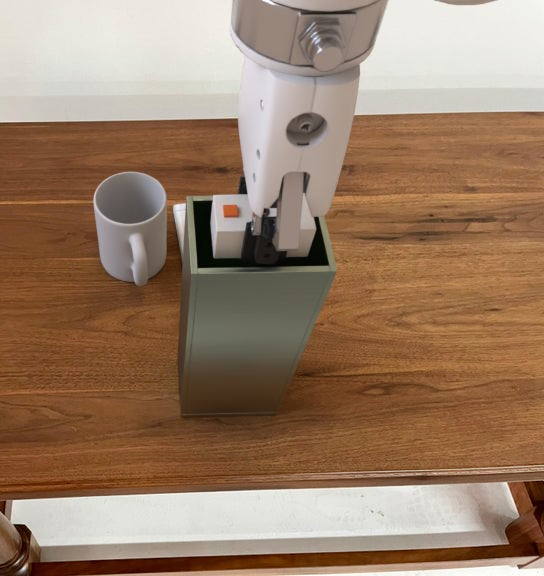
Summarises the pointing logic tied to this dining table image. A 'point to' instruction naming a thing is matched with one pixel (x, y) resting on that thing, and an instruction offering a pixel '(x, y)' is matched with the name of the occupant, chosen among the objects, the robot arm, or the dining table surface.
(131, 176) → the mug
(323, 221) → the box
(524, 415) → the dining table surface
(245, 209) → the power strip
